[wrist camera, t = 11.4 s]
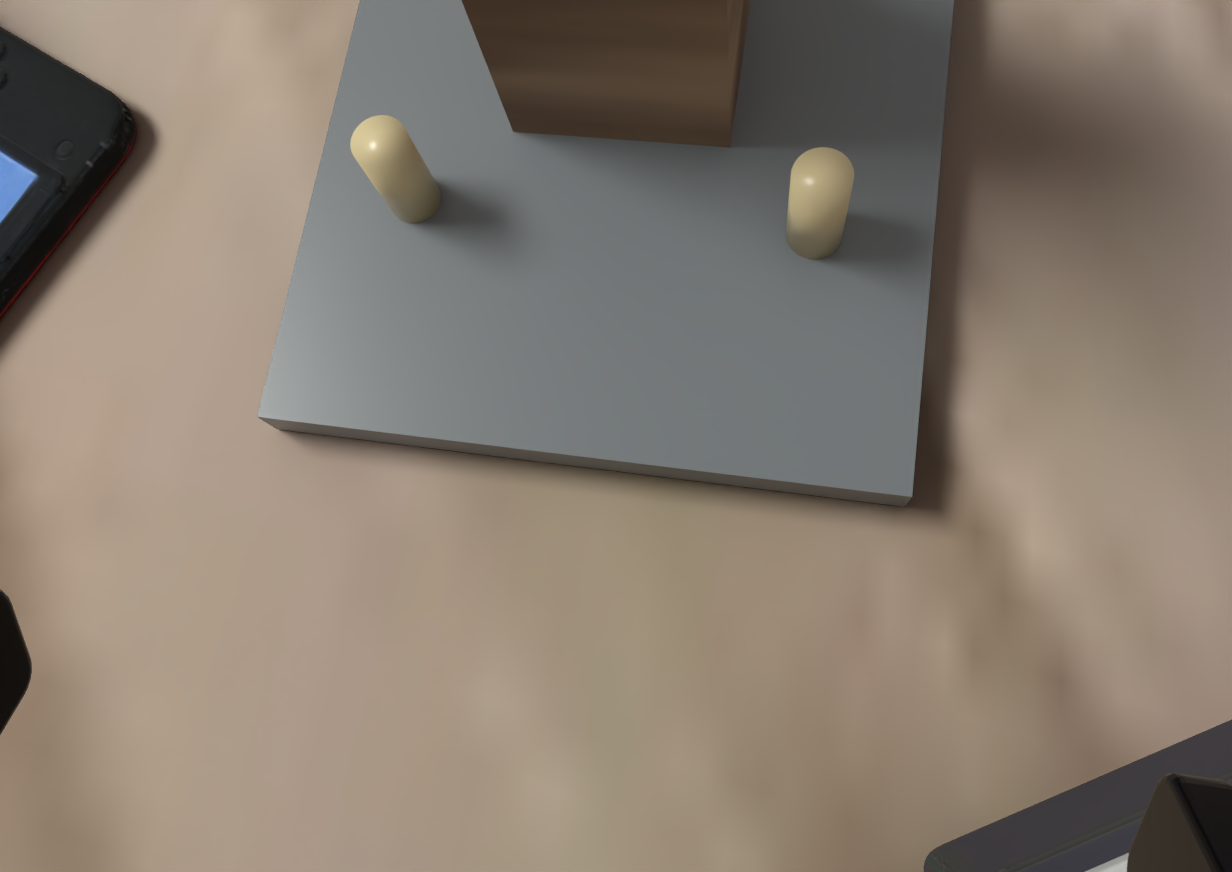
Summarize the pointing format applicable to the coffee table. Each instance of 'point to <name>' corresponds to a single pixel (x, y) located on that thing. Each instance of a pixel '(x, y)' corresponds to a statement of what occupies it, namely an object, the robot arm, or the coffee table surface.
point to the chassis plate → (629, 261)
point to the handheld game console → (50, 155)
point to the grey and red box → (1085, 816)
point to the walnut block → (616, 66)
